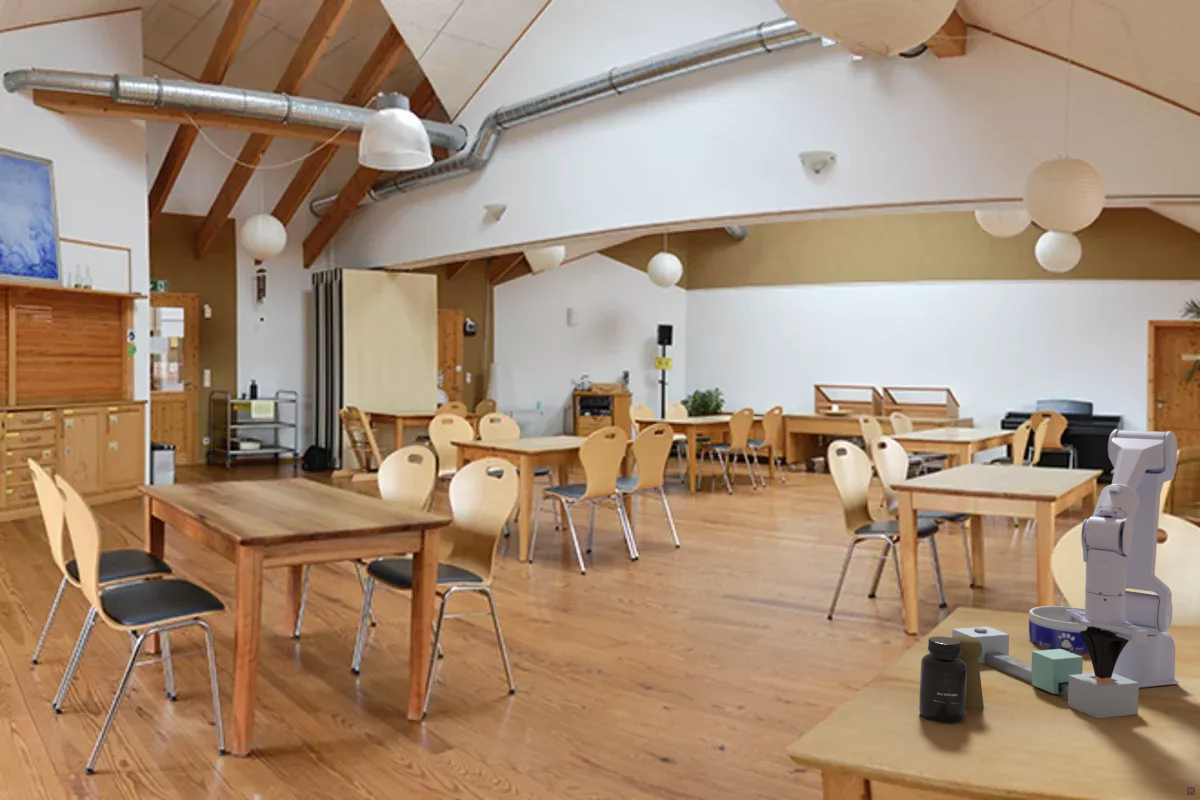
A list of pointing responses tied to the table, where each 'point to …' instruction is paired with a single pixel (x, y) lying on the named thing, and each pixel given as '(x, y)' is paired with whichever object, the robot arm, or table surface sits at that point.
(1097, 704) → the end cabinet
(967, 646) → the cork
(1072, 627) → the dog bowl
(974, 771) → the table surface
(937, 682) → the supplement bottle
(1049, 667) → the block
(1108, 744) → the table surface
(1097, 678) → the orange rounded knob
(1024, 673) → the rail
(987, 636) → the far cabinet
